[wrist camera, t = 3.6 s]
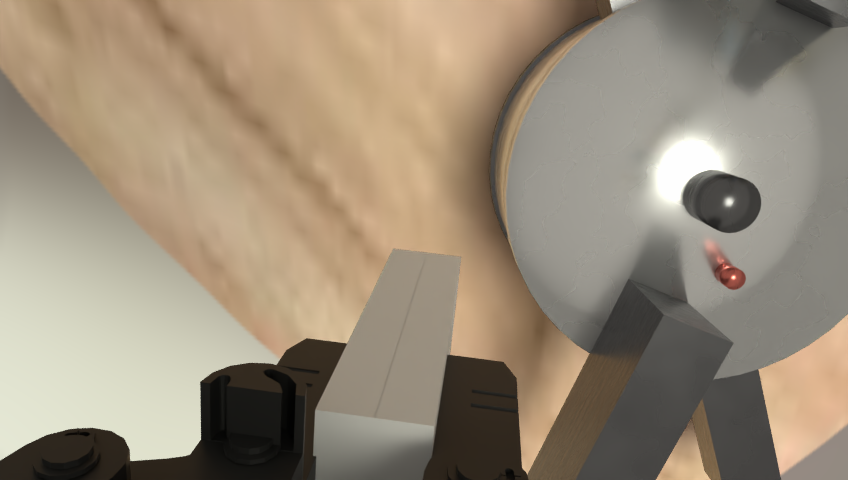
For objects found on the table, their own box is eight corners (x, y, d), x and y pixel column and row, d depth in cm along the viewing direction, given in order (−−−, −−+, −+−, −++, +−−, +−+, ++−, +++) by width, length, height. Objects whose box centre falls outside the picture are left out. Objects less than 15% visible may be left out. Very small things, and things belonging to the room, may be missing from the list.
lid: (632, -139, 28) (688, -196, 22) (1000, 36, 30) (1146, 26, 24) (379, 433, 35) (369, 509, 29) (690, 548, 36) (742, 642, 30)
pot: (434, 5, 37) (436, -12, 30) (755, -102, 36) (846, -150, 28) (570, 465, 45) (600, 548, 37) (841, 391, 43) (932, 461, 35)
